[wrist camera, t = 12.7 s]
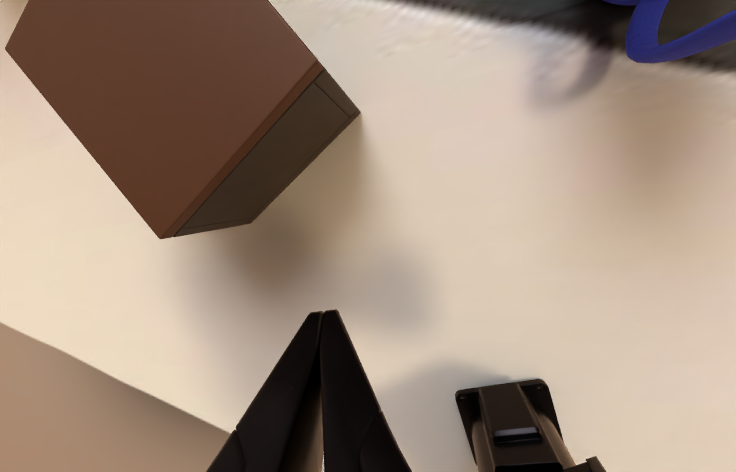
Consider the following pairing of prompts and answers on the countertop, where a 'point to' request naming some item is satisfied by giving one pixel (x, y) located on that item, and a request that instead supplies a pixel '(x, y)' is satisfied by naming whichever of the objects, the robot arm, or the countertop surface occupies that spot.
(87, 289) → the countertop surface
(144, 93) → the brown square block
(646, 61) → the mug
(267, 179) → the storage box
